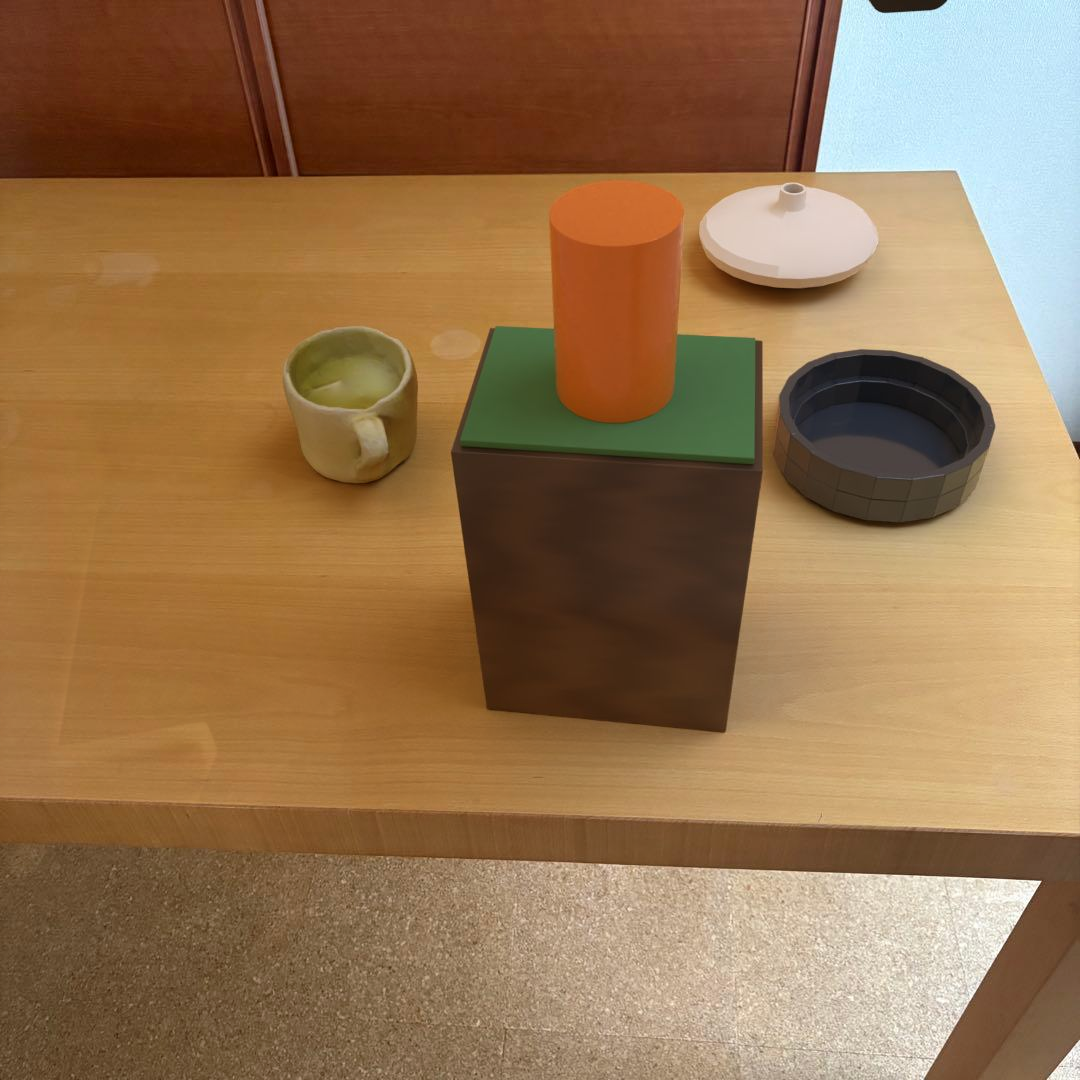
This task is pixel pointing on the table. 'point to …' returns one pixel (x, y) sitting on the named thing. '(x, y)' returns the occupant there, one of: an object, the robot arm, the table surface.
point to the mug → (353, 402)
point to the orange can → (616, 298)
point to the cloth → (672, 433)
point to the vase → (788, 236)
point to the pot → (882, 435)
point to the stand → (608, 578)
